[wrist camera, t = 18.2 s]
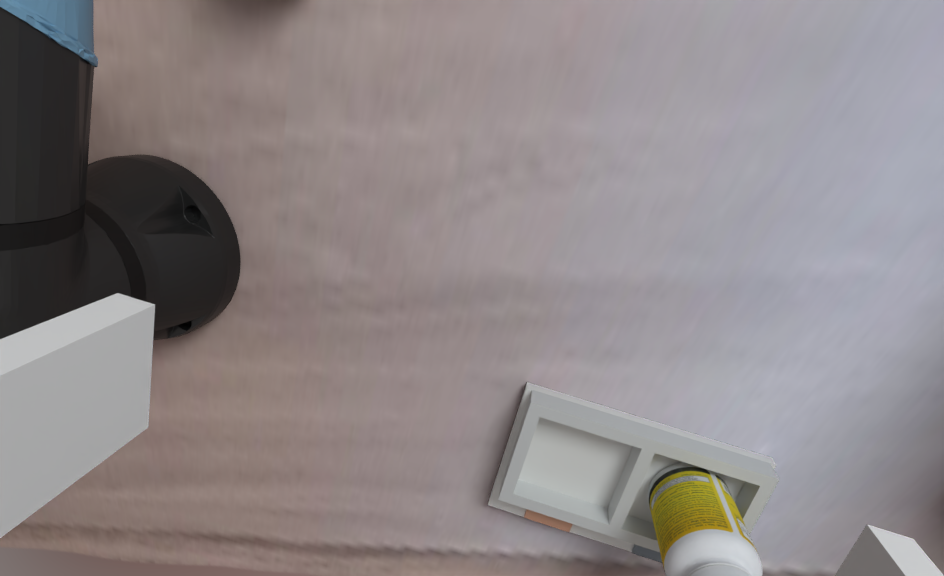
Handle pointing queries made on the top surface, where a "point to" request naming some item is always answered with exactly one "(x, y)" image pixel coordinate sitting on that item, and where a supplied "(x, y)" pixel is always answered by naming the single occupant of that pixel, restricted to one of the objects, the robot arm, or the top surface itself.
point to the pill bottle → (699, 525)
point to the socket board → (610, 469)
